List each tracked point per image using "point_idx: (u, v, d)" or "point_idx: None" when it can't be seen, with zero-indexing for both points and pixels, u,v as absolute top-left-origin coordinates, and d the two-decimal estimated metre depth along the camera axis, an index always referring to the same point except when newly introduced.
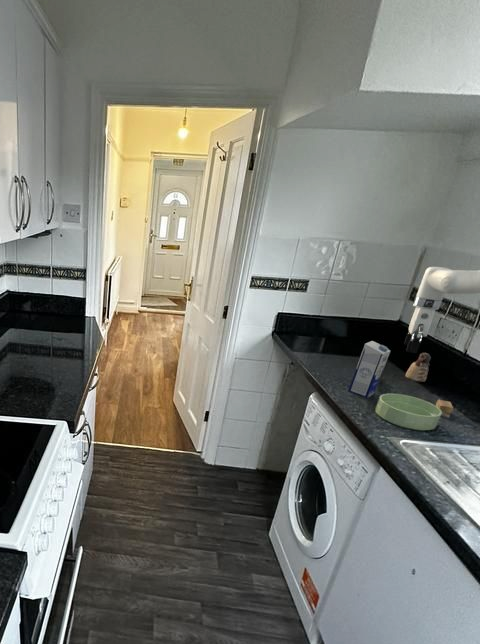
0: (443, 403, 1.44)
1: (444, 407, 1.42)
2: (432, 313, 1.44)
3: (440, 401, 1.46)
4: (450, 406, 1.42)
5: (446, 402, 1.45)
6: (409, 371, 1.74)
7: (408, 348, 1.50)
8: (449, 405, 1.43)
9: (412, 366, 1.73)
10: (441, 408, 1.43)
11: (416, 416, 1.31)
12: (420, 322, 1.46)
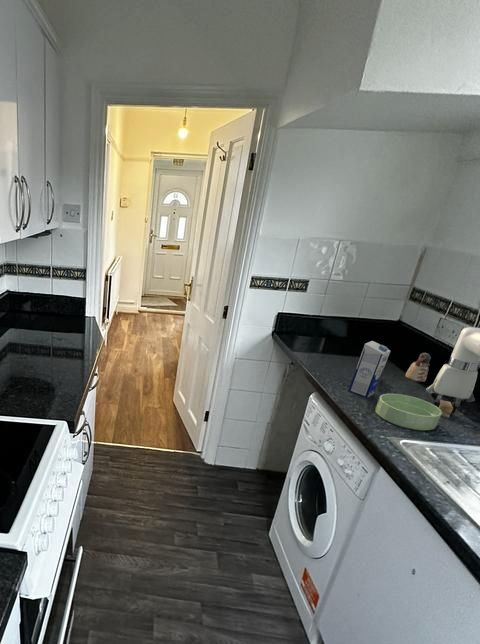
0: (443, 403, 1.44)
1: (444, 407, 1.42)
2: None
3: (440, 401, 1.46)
4: (450, 406, 1.42)
5: (446, 402, 1.45)
6: (409, 371, 1.74)
7: None
8: (449, 405, 1.43)
9: (412, 366, 1.73)
10: (441, 408, 1.43)
11: (416, 416, 1.31)
12: None
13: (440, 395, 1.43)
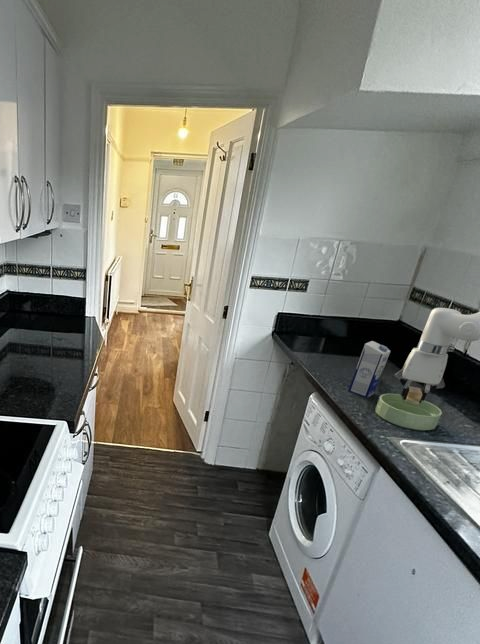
0: (412, 389, 1.36)
1: (413, 393, 1.34)
2: None
3: (410, 387, 1.37)
4: (419, 392, 1.34)
5: (416, 388, 1.37)
6: None
7: None
8: (418, 391, 1.35)
9: None
10: (410, 394, 1.35)
11: (416, 416, 1.31)
12: None
13: (409, 381, 1.35)
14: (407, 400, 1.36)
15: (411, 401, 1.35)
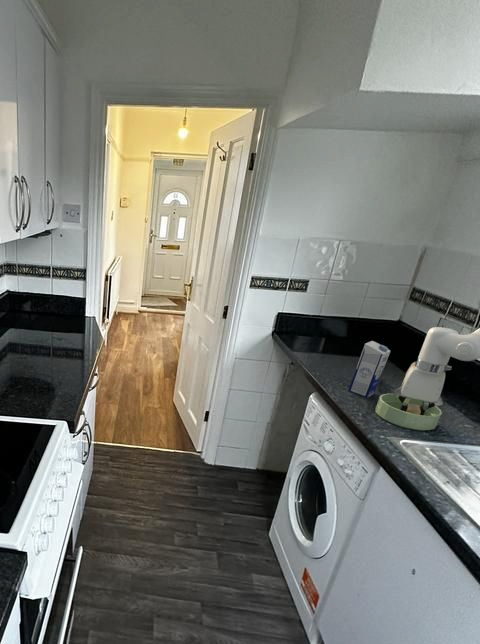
0: (411, 407, 1.38)
1: (411, 411, 1.36)
2: None
3: (408, 404, 1.39)
4: (418, 410, 1.36)
5: (414, 405, 1.39)
6: None
7: None
8: (417, 409, 1.36)
9: None
10: (408, 412, 1.36)
11: (416, 416, 1.31)
12: None
13: (407, 398, 1.37)
14: None
15: None
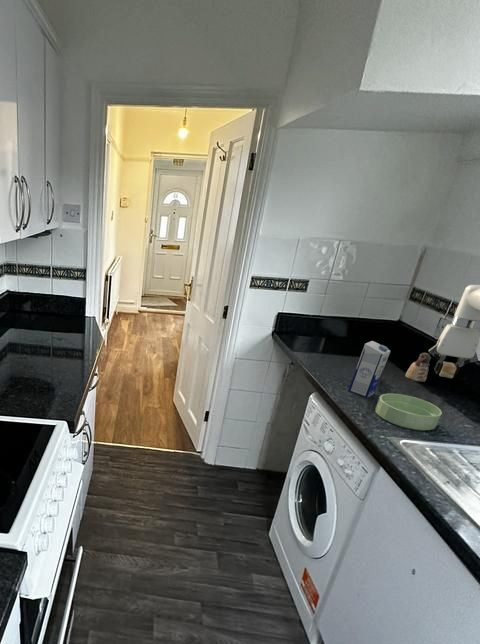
0: (446, 364, 1.43)
1: (447, 367, 1.41)
2: None
3: (443, 362, 1.44)
4: (453, 366, 1.41)
5: (449, 363, 1.44)
6: (409, 371, 1.74)
7: None
8: (452, 366, 1.41)
9: (412, 366, 1.73)
10: (444, 369, 1.41)
11: (416, 416, 1.31)
12: None
13: (443, 356, 1.42)
14: (441, 374, 1.42)
15: (445, 375, 1.42)
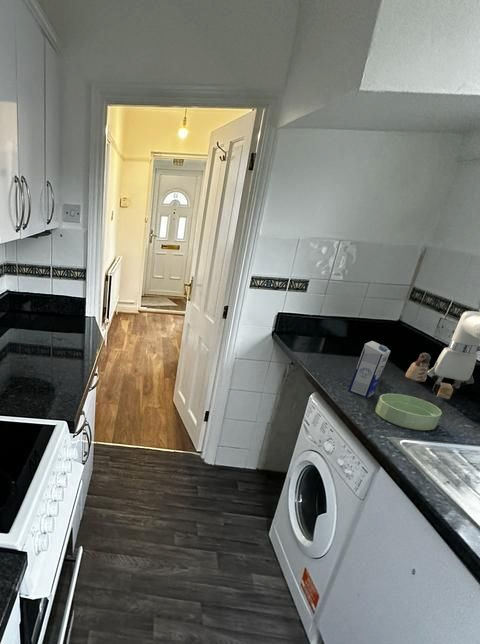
0: (443, 385, 1.49)
1: (444, 389, 1.47)
2: None
3: (441, 383, 1.51)
4: (450, 388, 1.47)
5: (446, 384, 1.50)
6: (409, 371, 1.74)
7: None
8: (449, 387, 1.48)
9: (412, 366, 1.73)
10: (441, 390, 1.48)
11: (416, 416, 1.31)
12: None
13: (441, 377, 1.48)
14: (439, 395, 1.49)
15: (442, 396, 1.48)
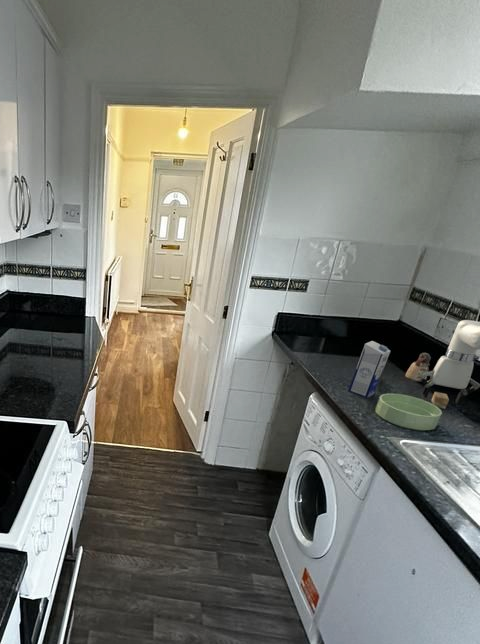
0: (439, 395, 1.51)
1: (440, 399, 1.49)
2: None
3: (436, 393, 1.52)
4: (446, 398, 1.49)
5: (442, 394, 1.52)
6: (409, 371, 1.74)
7: None
8: (445, 397, 1.50)
9: (412, 366, 1.73)
10: (437, 400, 1.49)
11: (416, 416, 1.31)
12: None
13: (433, 382, 1.50)
14: (435, 405, 1.50)
15: (438, 406, 1.50)
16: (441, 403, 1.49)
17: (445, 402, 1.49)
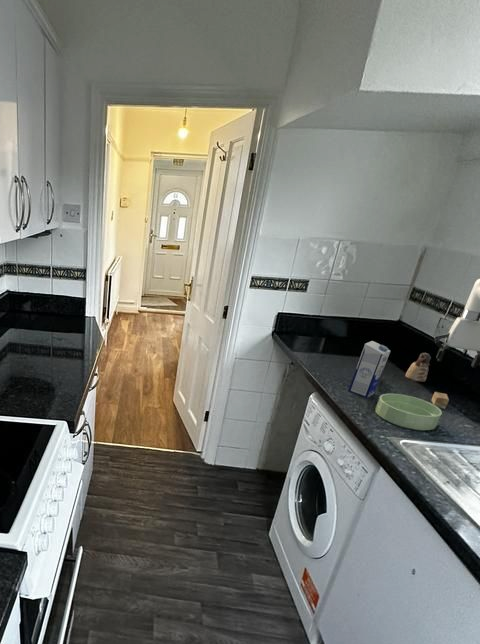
0: (439, 395, 1.51)
1: (440, 399, 1.49)
2: None
3: (436, 393, 1.52)
4: (446, 398, 1.49)
5: (442, 394, 1.52)
6: (409, 371, 1.74)
7: None
8: (445, 397, 1.50)
9: (412, 366, 1.73)
10: (437, 400, 1.49)
11: (416, 416, 1.31)
12: None
13: (448, 345, 1.44)
14: (435, 405, 1.50)
15: (438, 406, 1.50)
16: (441, 403, 1.49)
17: (445, 402, 1.49)
